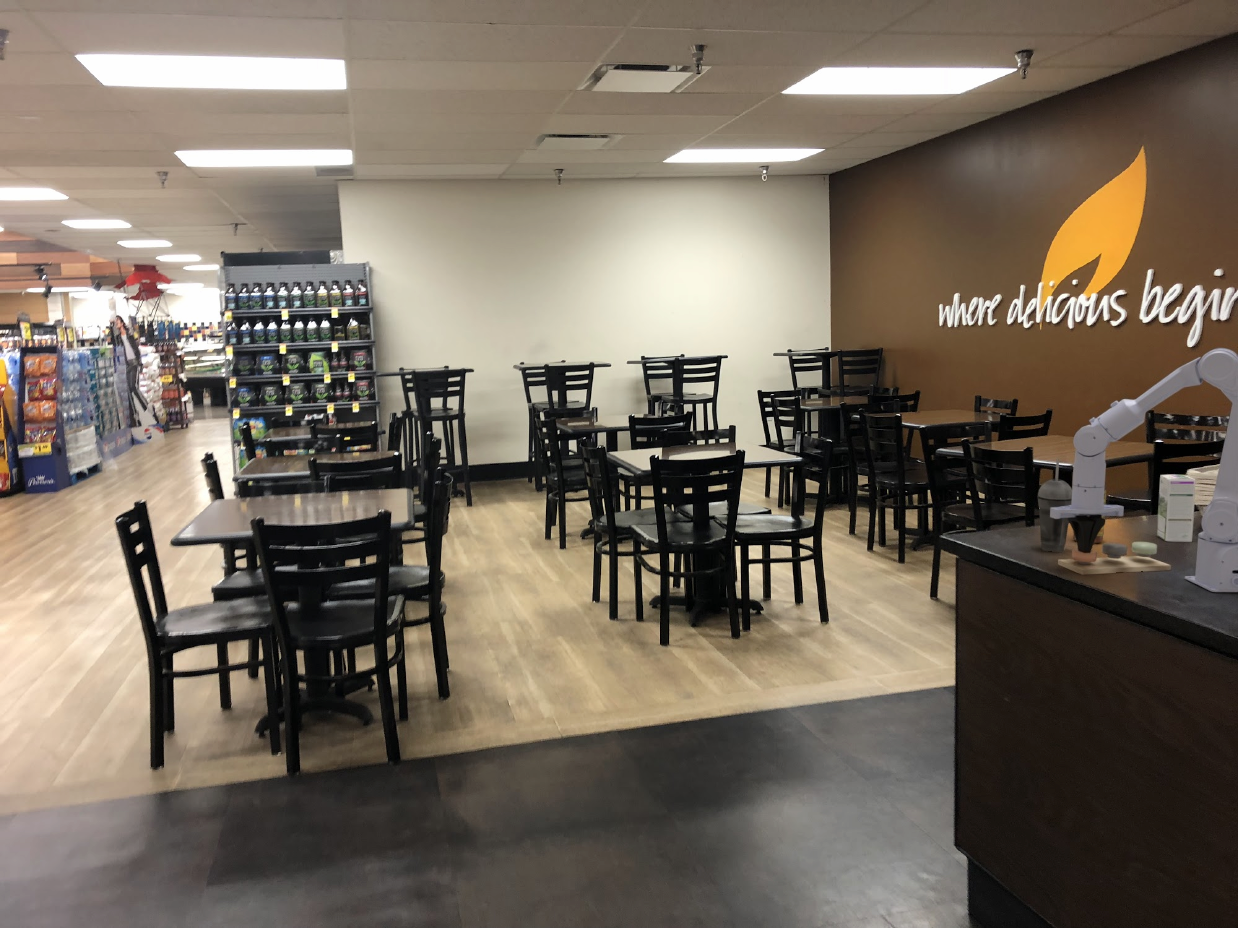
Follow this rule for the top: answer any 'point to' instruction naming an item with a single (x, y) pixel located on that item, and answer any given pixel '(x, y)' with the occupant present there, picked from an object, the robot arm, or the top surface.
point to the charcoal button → (1114, 550)
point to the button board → (1115, 565)
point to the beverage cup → (1050, 528)
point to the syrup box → (1176, 508)
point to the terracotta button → (1084, 557)
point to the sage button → (1144, 548)
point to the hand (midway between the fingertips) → (1084, 552)
